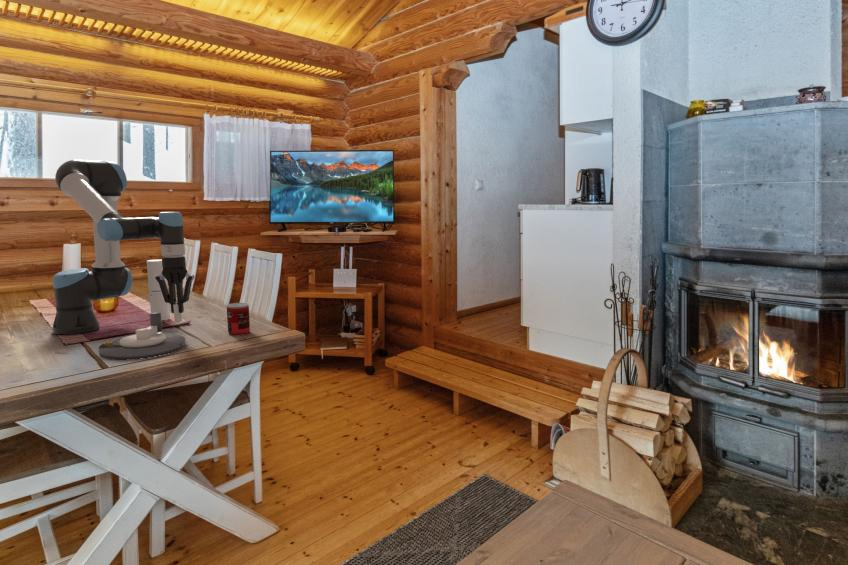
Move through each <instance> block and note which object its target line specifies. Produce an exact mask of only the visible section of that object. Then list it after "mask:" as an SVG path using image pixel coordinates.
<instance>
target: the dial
mask: <svg viewBox="0 0 848 565" xmlns="http://www.w3.org/2000/svg"><path fill="white" fill-rule="evenodd" d="M149 321H150V322H149V323H150V325H149V326H148V327H146V328H137V329H135V334H134V335H128V337H127V336H124V337H125V338H122V337H121V338H122V339H121V340H120V341H119V342H120V346H122V347H128V348H137V347H147V346H153V345H157V344H160V343H163V342H165V341H166V335H164V334H159V332H163V321H162V320H161V313H160V312H154V313H151V312H150V313H149Z"/></svg>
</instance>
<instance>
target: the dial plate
mask: <svg viewBox="0 0 848 565" xmlns="http://www.w3.org/2000/svg"><path fill="white" fill-rule="evenodd" d="M158 333H159V334H164V335H166V341H165V342H163V343H160V344H157V345H153V346H147V347H137V348H128V347H122V346H120V342H119V341H120V340H121V339H122V338H125V337H128V336H129V335H128V336H127V335H126V336H124V337H117V338H114V339H111V340H107V341H104V342H103V343H102V344H101V345H99V346H98V353H99V356H100V357H101V358H103V359H106V358H107V359H108V360H113V359H115V361H128V360H127V359H135V360H141V359H140V358H145V359H149V358H148V357H152V358H155V357H154V356H157V357H160V356H159V355H162V356H165V355H164V354H166V355H169V354H168V353H170V354H173V353H176V352H178V351H180V350H182V349H184V348H185V347H186V344H187V343H186V337H185V336H184V335H182V334H178V333H171V332H163V331H161V332H158ZM175 351H176V352H175ZM172 352H173V353H172Z"/></svg>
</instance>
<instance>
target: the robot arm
mask: <svg viewBox="0 0 848 565" xmlns="http://www.w3.org/2000/svg"><path fill="white" fill-rule="evenodd" d="M54 176H55V183H56V185H57V188H58V189H59V190H60V191H61V192H62V194H64V195H65V196H68V197H71V198H72V199H73V200H74V201H75V202H76V204H78V206H80V208H81V209H82V210H84V211H85V212H86V214H88V215H89V217H91V219H92V225H93V227H92V228H93V241H94V254H95V260H94V262H93V263H92V264H91V270H89V268H85V267H78V268H72V269H66V270H63V271H59V272H56V273H55V274H54V275H53V276H52V281H53V282H52V288H53V294H54V301H55V302H54V303H55V310H56V311H55V312H56V313H55V317H54V321H53V325H52V334H54V335H59V334H63V336H64V335H66V336H67V335H69V334H70V335H78V334H79V333H80V334H85V333H90V332H94V331H96V330H99V329H100V322H99V320H98V317H97V315H96V313H95V311H94V309H93V301H100V300H106V299H116V298H118V297H119V298H120V297H124V296H126V295H128V294H129V292H130V291H131V289H132V286H133V282H134V281H133V274H132V271H131V270H130V269H129V268H128V267H126V263H124V262H123V261H122V260H121V247H120V245H121V244H120V241H128V240H129V241H130V240H131V241H132V240H145V239H147V240H148V239H160V253H161V256H162V258H161V259H162V267H163V270H162V274H160V275H159V276H156V277H155V279H156V280H157V281H158V283H159V285H160V288H161V291H162V295H163V298H164V301H165V302H166V303H169V305H170V311H171V312H170V313H172V314H173V319H174V324H175V323H176V324H177V323H179V324H180V323H181V322H182V321H183V318H182V317H183V315H182V314H183V313H184V312H185V309H184V304H185V303H187V302H189V301H190V300H189V299H190V294H191V289H192V283H193V280H194V279H195V275H194V274H193V275H192V274H191V273H189V272H188V270H187V263H186V256H185V255H186V251H185V250H186V248H185V246H186V245H185V234H184V233H185V232H184V231H185V230H184V221H183V214H182V213H181V212H180V211H160V212H159V213H158V217H156V216H145V217H144V216H143V217H124V216H123V215H122V214H120V213H119V211H118V200H119V199H120V198H121V197H122V193H123V192H124V191H126V189H127V185H128V180H127V174H126V172H125V170H124V169H123V168H122V166H121V165H120V164H119V163H117V162H114V161H109V160H92V159H91V160H90V159H71V160H67V161H65V162H63V163H62V164H60V166H58V168H57V170H56V172H55V175H54ZM164 277H165V278H166V280H167V281H168V289H167V286H166V283H165V280H164ZM184 280H186V281H185V283H184ZM183 284H185V285H184V288H183ZM70 335H69V336H70Z"/></svg>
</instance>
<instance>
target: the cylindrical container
mask: <svg viewBox="0 0 848 565" xmlns="http://www.w3.org/2000/svg"><path fill="white" fill-rule="evenodd" d="M146 267H147V280H148V281H147V282H148V292H149V293H148V294H149V306H150V313H154V312H160V313H161V320H165V321H168V320H167V319H169V320H171V312H170V311H171V306H170V303H166V302H165V301H164V298H163V295H162V291H161V288H160V285H159V283H158V281H157V280H156V279H155V277H156V276H159V275H160V274H162V270H163V267H162V258H161V259H149V260H146ZM164 280H165V283H166V286H167V289H168V290H169V285H168V281H167V280H166V278H165V277H164Z"/></svg>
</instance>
